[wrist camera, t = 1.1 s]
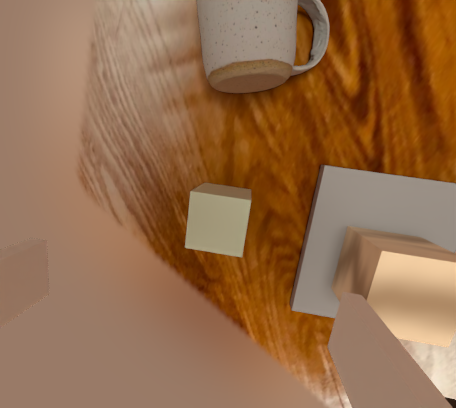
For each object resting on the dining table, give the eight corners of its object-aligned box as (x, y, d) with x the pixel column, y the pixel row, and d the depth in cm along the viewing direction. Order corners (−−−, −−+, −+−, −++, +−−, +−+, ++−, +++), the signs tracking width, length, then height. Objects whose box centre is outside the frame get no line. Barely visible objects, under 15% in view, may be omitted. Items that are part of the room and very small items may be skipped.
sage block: (204, 182, 24) (190, 191, 18) (251, 189, 24) (251, 200, 18) (199, 226, 25) (184, 247, 20) (244, 233, 25) (242, 257, 19)
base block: (347, 225, 22) (382, 250, 17) (421, 237, 22) (482, 266, 16) (331, 287, 24) (357, 330, 18) (399, 299, 24) (448, 347, 18)
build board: (321, 164, 23) (324, 165, 21) (468, 185, 22) (480, 186, 21) (289, 303, 26) (291, 310, 25) (415, 326, 25) (423, 334, 24)
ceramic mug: (212, 101, 22) (195, 74, 15) (203, 5, 21) (179, -80, 13) (322, 89, 21) (364, 54, 14) (323, -13, 20) (370, -115, 12)
